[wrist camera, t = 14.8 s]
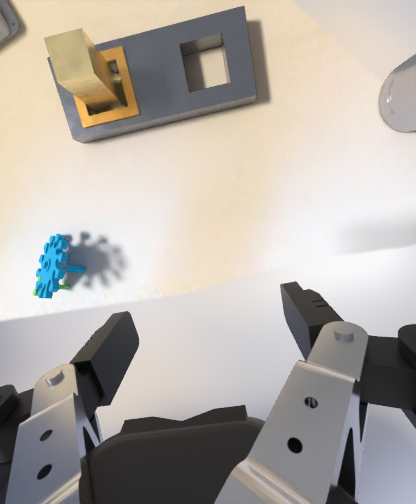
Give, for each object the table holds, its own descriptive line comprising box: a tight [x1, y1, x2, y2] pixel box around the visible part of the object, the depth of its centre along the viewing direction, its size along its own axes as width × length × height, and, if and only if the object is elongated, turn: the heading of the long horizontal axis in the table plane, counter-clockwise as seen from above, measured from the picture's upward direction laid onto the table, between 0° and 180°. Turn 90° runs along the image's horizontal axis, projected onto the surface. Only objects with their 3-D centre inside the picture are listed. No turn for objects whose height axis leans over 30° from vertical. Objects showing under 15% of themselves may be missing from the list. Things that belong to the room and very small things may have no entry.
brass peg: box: [44, 28, 128, 113], centre depth 28 cm, size 4×4×10 cm
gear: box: [33, 234, 85, 298], centre depth 37 cm, size 11×6×10 cm
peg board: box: [47, 6, 257, 143], centre depth 31 cm, size 26×10×3 cm, turn 102°
